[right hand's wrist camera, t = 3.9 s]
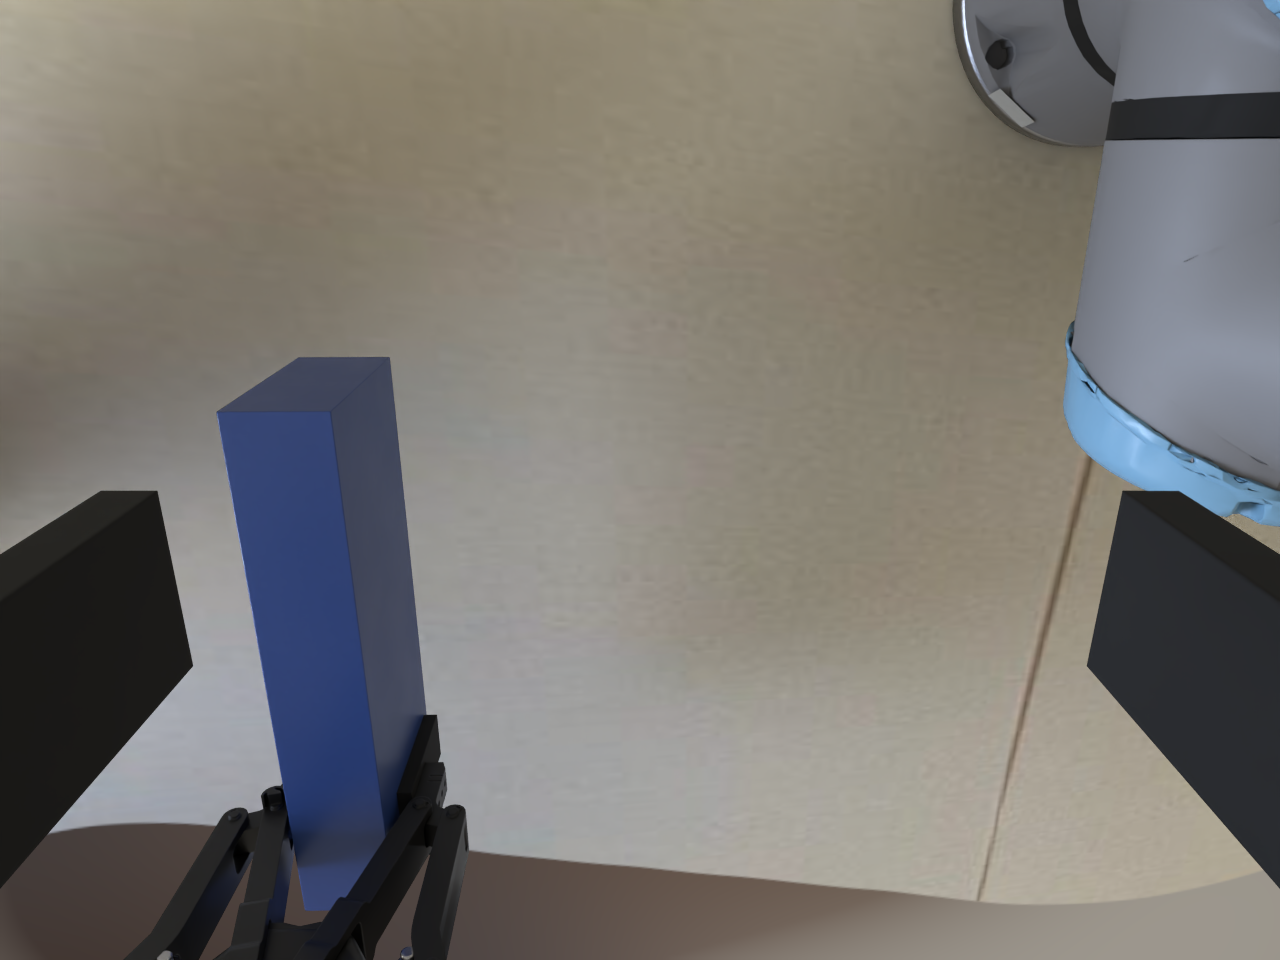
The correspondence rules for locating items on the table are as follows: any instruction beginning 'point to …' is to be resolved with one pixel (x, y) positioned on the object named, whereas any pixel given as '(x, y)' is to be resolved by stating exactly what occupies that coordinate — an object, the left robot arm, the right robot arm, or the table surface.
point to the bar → (329, 602)
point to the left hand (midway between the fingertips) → (386, 735)
